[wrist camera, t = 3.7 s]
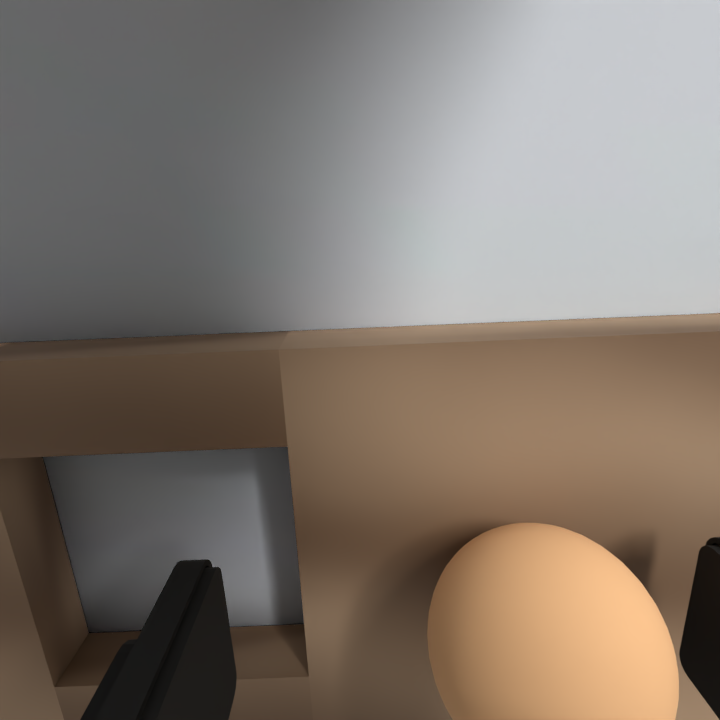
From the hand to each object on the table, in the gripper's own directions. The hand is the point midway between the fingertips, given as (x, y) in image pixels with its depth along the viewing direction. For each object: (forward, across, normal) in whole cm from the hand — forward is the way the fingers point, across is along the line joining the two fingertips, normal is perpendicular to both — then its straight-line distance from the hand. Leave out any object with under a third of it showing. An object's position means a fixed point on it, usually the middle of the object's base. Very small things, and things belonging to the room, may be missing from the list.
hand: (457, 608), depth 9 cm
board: (+3, +1, 0) cm, 3 cm away
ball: (-1, -1, 0) cm, 2 cm away
